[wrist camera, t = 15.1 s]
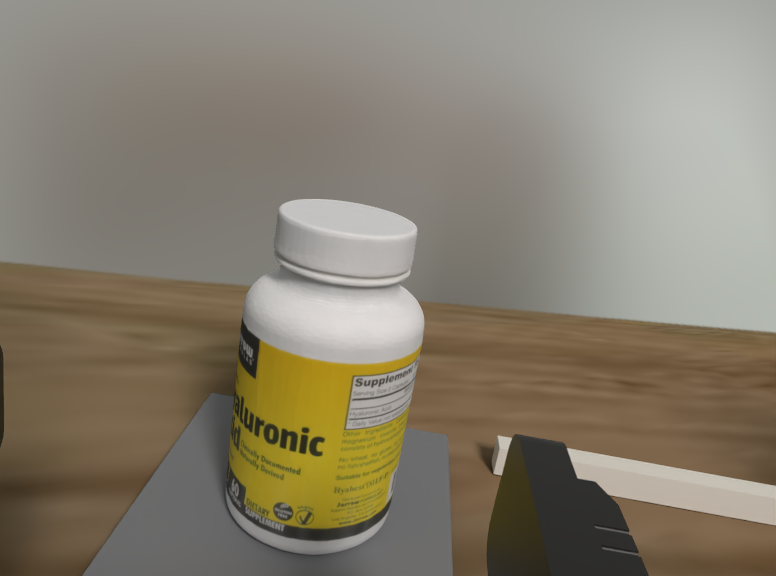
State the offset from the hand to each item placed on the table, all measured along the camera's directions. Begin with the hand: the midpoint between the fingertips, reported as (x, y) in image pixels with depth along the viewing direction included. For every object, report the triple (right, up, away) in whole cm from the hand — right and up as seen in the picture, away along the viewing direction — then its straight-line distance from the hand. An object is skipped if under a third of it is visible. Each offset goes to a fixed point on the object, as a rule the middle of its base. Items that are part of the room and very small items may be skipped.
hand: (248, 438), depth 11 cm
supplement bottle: (-1, -5, +12) cm, 13 cm away
